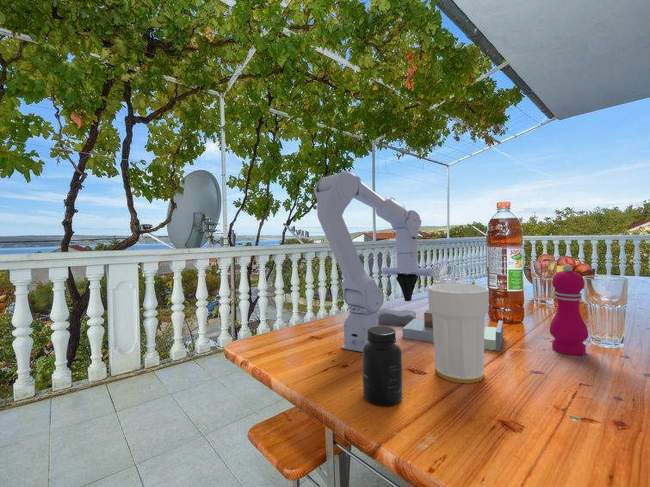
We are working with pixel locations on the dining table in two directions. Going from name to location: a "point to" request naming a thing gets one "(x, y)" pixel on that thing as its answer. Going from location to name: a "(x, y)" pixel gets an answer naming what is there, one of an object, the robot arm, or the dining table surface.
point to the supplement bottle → (382, 367)
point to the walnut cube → (428, 319)
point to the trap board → (419, 332)
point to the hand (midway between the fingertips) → (408, 300)
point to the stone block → (395, 316)
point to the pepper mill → (568, 314)
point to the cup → (459, 330)
